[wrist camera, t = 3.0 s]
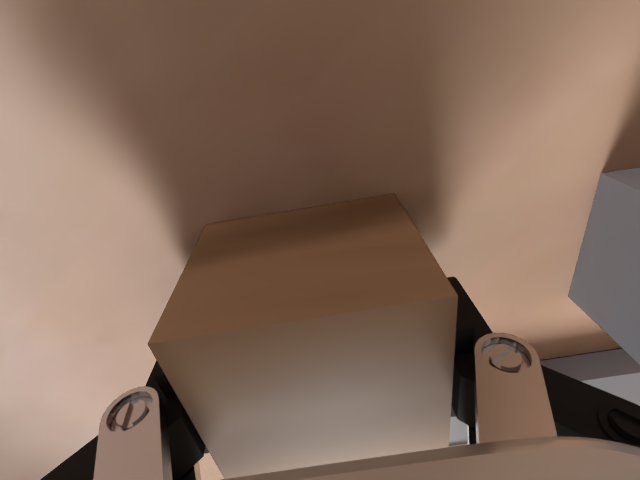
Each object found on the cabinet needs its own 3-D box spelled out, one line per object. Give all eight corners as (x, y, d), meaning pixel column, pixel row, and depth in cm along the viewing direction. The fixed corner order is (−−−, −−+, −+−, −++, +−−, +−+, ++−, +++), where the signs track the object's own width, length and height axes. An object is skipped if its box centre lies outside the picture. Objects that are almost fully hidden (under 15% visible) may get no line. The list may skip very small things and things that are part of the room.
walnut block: (206, 224, 11) (147, 344, 7) (394, 193, 11) (457, 295, 7) (253, 354, 14) (233, 494, 10) (400, 331, 14) (447, 463, 10)
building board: (336, 391, 15) (339, 421, 14) (657, 343, 15) (688, 369, 14) (364, 529, 22) (367, 557, 21) (583, 498, 22) (599, 525, 21)
